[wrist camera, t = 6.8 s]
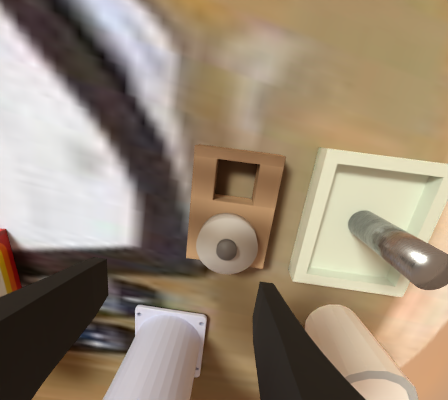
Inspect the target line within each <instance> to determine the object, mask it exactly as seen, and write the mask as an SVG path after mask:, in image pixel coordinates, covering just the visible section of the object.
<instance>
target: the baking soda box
mask: <svg viewBox="0 0 448 400" xmlns="http://www.w3.org/2000/svg"><path fill="white" fill-rule="evenodd" d="M21 288H22V286H21V283H20V279H19V275H18V272H17V268H16V264H15V261H14V257H13V253H12V250H11V246H10V242H9V239H8V235H7V231H6V229H0V297H1V296H4V295H6V294H8V293H11V292H13V291H16V290H18V289H21Z"/></svg>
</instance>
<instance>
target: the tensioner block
mask: <svg viewBox="0 0 448 400" xmlns="http://www.w3.org/2000/svg"><path fill="white" fill-rule="evenodd" d="M219 159H223V160H231V161H238V162H246V163H253V164H258V165H257V171H256V177H255V183H254V188H253V194H252V199H249V198H242V197H235V196H227V195H220V194H215V189H216V181H217V172H218V163H219ZM285 159H286V157H285V156H282V155H277V154H270V153H262V152H254V151H247V150H239V149H231V148H223V147H216V146H208V145H200V144H199V145H195V152H194V165H193V178H192V190H191V203H190V216H189V229H188V241H187V254H186V258H191V259H198V260H201V261H202V263H203V264H204V265H205V266H206V267H208V268H209V269H211V270H212V271H215V272H217V273H221V274H235V273H239V272H241V271H243V270H245V269H247V268H248V267H254V268H261V269H263V265H264V260H265V255H266V250H267V245H268V240H269V236H270V231H271V226H272V221H273V216H274V212H275V207H276V202H277V197H278V192H279V188H280V183H281V178H282V173H283V168H284V164H285Z"/></svg>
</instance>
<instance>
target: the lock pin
mask: <svg viewBox="0 0 448 400" xmlns="http://www.w3.org/2000/svg"><path fill="white" fill-rule="evenodd" d="M348 228H349V230H350V232H351V233H353V234H354V235H355V236H356V237H357V238H359V239H360V240H361V241H362V242H363V243H365V244H366V245H367V246H368V247H370V248H371V249H372V250H373V251H374V252H376V253H377V254H378V255H379V256H380V257H382V258H383V259H384V260H385V261H386V262H388V263H389V264H390V265H391V266H392V267H394V268H395V269H396V270H397V271H398V272H400V273H401V274H402V275H403V276H404V277H406V278H407V279H408V280H409V281H410V282H412V283H413V284H414V285H415V286H417V287H418V288H420V289H424V290H435V289H439V288H441V287H444V286H445V285H447V284H448V254H446V253H444V252H443V251H441V250H439V249H437V248H435V247H434V246H432V245H430V244H428V243H426V242H425V241H423V240H421V239H419V238H417V237H415V236H414V235H412V234H410V233H408V232H406V231H405V230H403V229H401V228H399V227H397V226H396V225H394V224H392V223H390V222H388V221H387V220H385V219H383V218H381V217H379V216H378V215H376V214H374V213H372V212H370V211H367V210H362V211H358V212H356V213H354V214H353V215H352V216H351V217H350V219H349V221H348Z"/></svg>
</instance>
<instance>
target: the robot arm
mask: <svg viewBox="0 0 448 400" xmlns="http://www.w3.org/2000/svg"><path fill="white" fill-rule="evenodd" d="M107 296H108V277H107V259H103V258H96V257H93V258H90V259H88V260H85V261H83V262H80V263H78V264H76V265H74V266H71V267H69V268H67V269H65V270H62V271H60V272H58V273H56V274H53V275H51V276H49V277H47V278H44V279H42V280H40V281H37V282H35V283H33V284H30V285H28V286H25V287H23V288H21V289H18V290H16V291H13V292H11V293H8V294H6V295H4V296H1V297H0V400H31V399H32V398H33V397H34V395H35V394H36V392H37V391H38V389H39V388H40V386H41V385H42V383H43V382H44V381H45V379H46V378H47V377H48V375H49V374H50V373H51V371H52V370H53V369H54V368H55V366H56V365H57V364H58V363H59V361H60V360H61V359H62V358H63V356H64V355H65V354H66V353H67V351H68V350H69V349H70V348H71V346H72V345H73V344H74V343H75V341H76V340H77V339H78V338H79V336H80V335H81V334H82V333H83V331H84V330H85V329H86V327H87V326H88V325H89V324H90V322H91V321H92V320H93V318H94V317H95V316H96V314H97V313H98V311H99V309H100V308H101V306H102V305H103V303H104V301H105V300H106V298H107ZM201 322H203V323H201ZM206 322H207V317H206V315H204V314H198V313H191V312H185V311H178V310H171V309H165V308H158V307H152V306H145V305H138V306H137V307H136V308H135V338H134V340H133V342H132V344H131V346H130V348H129V350H128V352H127V354H126V356H125V358H124V360H123V362H122V363H121V365H120V367H119V369H118V371H117V373H116V375H115V377H114V379H113V381H112V383H111V385H110V387H109V389H108V391H107V393H106V395H105V396H104V398H103V400H190V396H191V391H192V386H193V380H194V377H199V376H200V370H201V362H202V354H203V346H204V338H205V330H206ZM253 344H254V352H255V360H256V368H257V376H258V384H259V391H260V399H261V400H366V399H365V398H364V397H363V396H362V395H361V394H360V393H359V392H358V391H357V390H356V389H355V388H354V387H353V386H352V385H351V384H350V383H349V382H348V381H347V380H346V379H345V377H344V376H343V375H342V374H341V373H340V372H339V371H338V370H337V369H336V367H335V366H334V365H333V364H332V363H331V362H330V361H329V360H328V358H327V357H326V356H325V355H324V354H323V352H322V351H321V350H320V349H319V348H318V346H317V345H316V344H315V343H314V341H313V340H312V339H311V337H310V336H309V335H308V333H307V332H306V331H305V329H304V328H303V327H302V325H301V324H300V323H299V321H298V320H297V318H296V317H295V315H294V314H293V313H292V311H291V310H290V308H289V307H288V305H287V304H286V302H285V301H284V299H283V298H282V296H281V294H280V293H279V291H278V290H277V288H276V287H275V285H274V284H273V283H266V282H260V284H259V289H258V294H257V298H256V303H255V308H254V313H253Z"/></svg>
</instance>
